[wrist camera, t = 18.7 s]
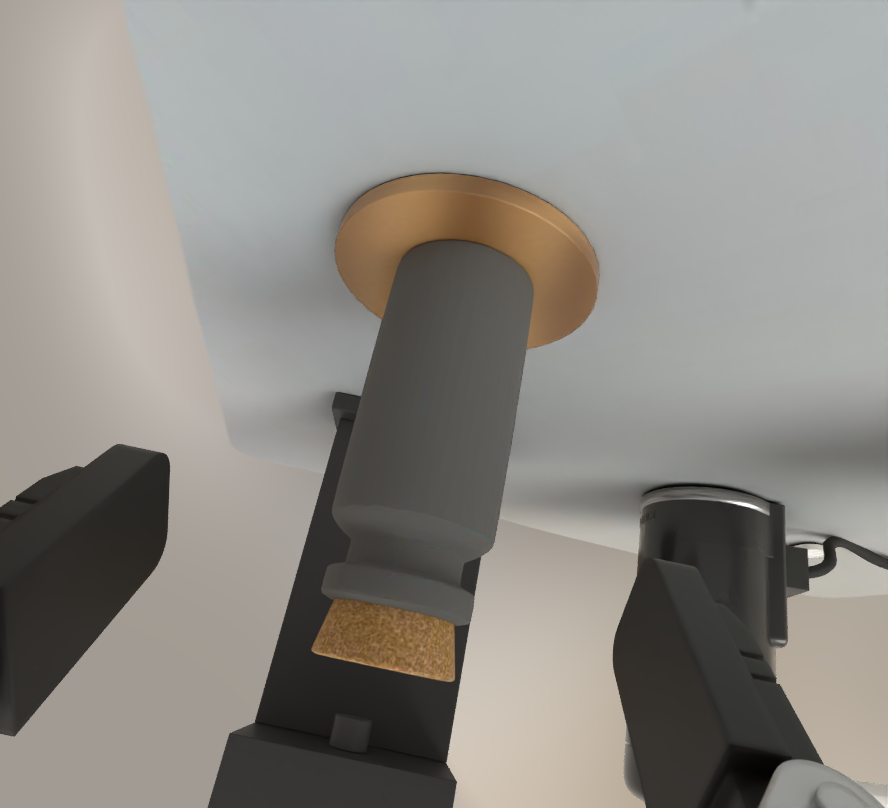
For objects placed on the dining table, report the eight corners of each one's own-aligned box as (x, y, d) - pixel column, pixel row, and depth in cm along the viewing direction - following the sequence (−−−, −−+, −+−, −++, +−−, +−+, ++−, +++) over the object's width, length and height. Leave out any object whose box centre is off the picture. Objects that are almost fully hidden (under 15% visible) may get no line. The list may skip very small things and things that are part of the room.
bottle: (370, 249, 25) (254, 641, 19) (506, 227, 22) (419, 676, 16) (434, 326, 30) (357, 662, 24) (553, 316, 27) (499, 692, 21)
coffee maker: (329, 358, 37) (138, 992, 25) (527, 400, 37) (427, 1054, 25) (343, 430, 48) (215, 891, 37) (495, 462, 48) (415, 933, 37)
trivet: (620, 186, 21) (618, 205, 20) (583, 350, 31) (581, 364, 30) (306, 161, 22) (299, 178, 22) (368, 324, 32) (364, 337, 32)
